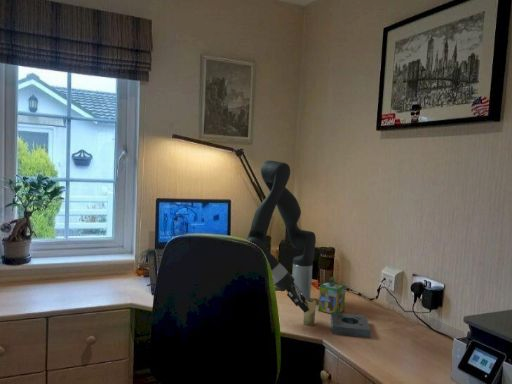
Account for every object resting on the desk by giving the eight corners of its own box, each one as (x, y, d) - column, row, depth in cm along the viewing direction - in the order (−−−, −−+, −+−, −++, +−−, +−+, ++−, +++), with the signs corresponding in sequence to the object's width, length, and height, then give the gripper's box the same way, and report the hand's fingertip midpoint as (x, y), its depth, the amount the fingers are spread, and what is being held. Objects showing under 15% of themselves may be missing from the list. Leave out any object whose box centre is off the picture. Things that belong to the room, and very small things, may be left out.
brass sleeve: (303, 321, 169) (304, 298, 168) (314, 322, 168) (315, 299, 168) (303, 325, 164) (304, 301, 164) (314, 326, 164) (315, 302, 163)
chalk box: (337, 316, 177) (339, 282, 177) (317, 311, 182) (319, 278, 181) (344, 310, 185) (347, 277, 184) (325, 305, 190) (328, 274, 189)
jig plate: (330, 319, 173) (330, 312, 173) (364, 322, 171) (365, 315, 171) (332, 334, 157) (333, 326, 157) (370, 337, 155) (370, 330, 155)
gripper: (286, 275, 159) (314, 307, 158) (288, 267, 173) (314, 296, 172) (271, 287, 160) (299, 319, 159) (274, 278, 174) (300, 307, 173)
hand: (307, 307), depth 166 cm, fingers open, 8 cm apart
